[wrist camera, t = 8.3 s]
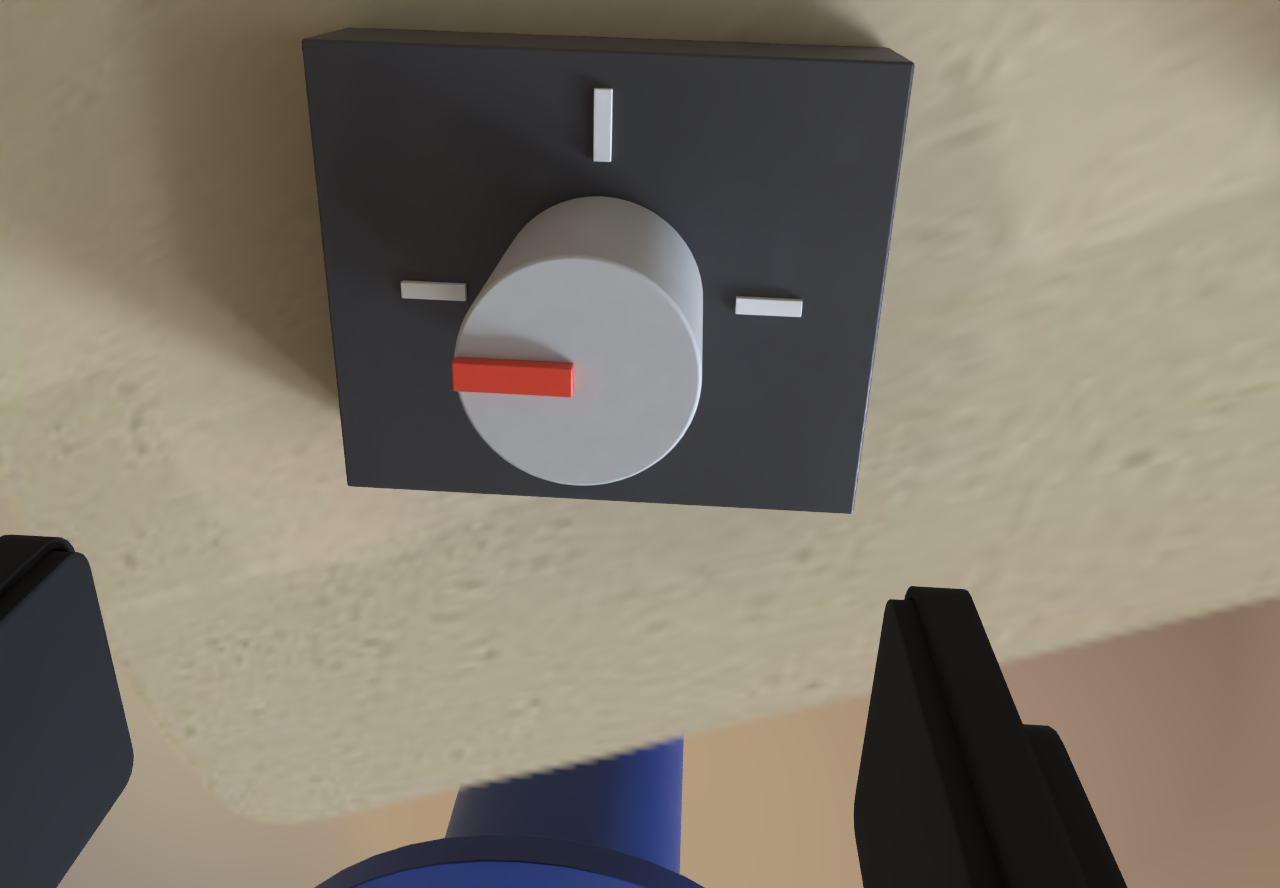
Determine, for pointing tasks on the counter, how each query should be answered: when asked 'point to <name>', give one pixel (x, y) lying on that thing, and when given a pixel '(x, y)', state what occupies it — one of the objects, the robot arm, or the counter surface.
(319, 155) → the panel
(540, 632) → the counter surface
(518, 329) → the hob knob
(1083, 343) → the counter surface
